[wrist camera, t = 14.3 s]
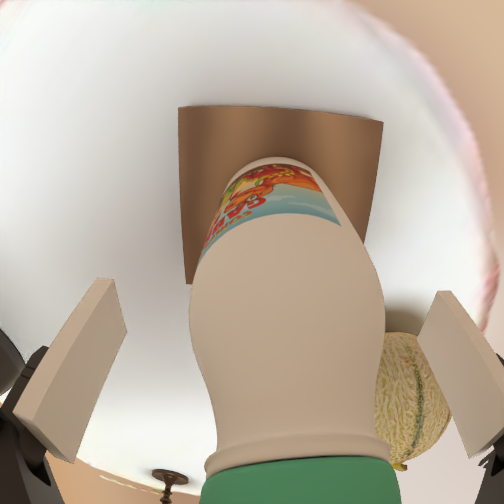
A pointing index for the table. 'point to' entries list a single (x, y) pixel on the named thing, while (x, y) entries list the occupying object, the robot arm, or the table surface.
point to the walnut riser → (270, 145)
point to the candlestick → (169, 482)
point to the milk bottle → (289, 345)
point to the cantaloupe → (407, 400)
